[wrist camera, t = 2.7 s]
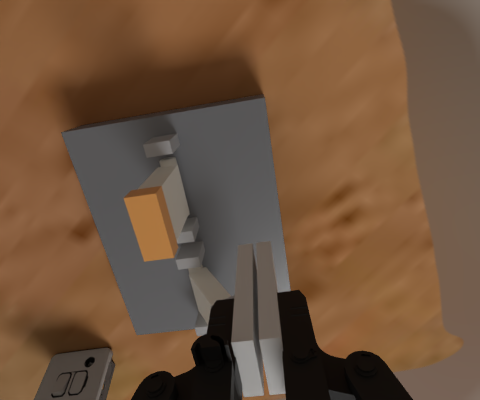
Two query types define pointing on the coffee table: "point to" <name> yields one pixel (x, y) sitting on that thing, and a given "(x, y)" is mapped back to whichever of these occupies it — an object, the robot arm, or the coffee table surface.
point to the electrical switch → (78, 376)
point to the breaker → (206, 290)
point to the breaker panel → (197, 195)
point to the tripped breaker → (159, 211)
